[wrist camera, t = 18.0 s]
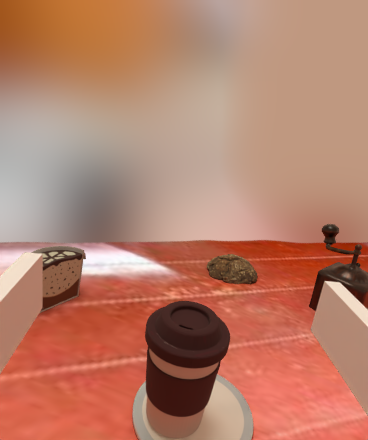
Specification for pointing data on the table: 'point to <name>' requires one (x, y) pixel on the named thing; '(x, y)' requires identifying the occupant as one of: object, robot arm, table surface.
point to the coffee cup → (182, 365)
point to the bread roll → (232, 269)
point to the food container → (60, 274)
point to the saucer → (204, 416)
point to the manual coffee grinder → (341, 272)
